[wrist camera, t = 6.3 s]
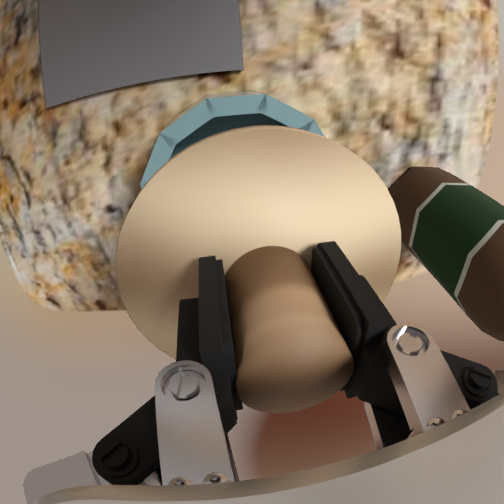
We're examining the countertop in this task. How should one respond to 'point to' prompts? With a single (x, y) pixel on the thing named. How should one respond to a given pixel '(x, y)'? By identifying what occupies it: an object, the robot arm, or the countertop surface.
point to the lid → (260, 252)
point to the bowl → (222, 122)
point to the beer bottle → (456, 240)
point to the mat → (133, 43)
